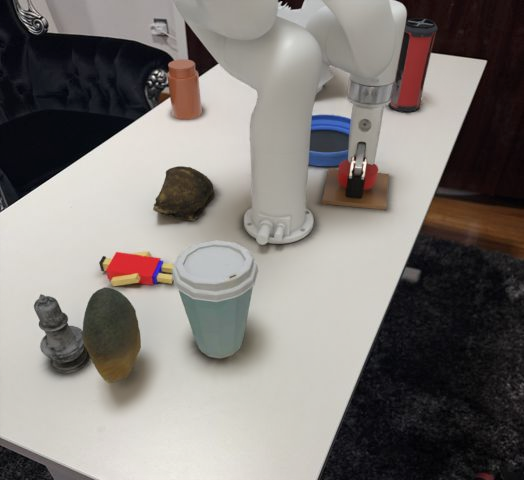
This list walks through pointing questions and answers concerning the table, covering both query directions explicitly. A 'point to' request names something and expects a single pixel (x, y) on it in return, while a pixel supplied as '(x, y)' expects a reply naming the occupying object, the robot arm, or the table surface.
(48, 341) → the grey chess piece
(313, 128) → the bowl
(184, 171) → the seashell
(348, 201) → the coaster
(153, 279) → the toy figure
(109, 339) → the mango
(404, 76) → the speaker
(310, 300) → the table surface
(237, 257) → the disposable coffee cup
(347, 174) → the lid
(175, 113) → the jar
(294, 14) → the jagged white slab
